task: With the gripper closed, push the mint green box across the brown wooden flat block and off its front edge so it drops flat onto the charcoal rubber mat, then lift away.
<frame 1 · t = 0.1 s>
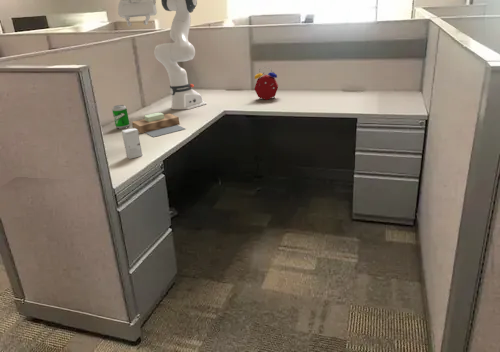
hand: (137, 25, 212), 52 cm above the table, tool tilted 20°, fingers open, 8 cm apart
soda can: (123, 127, 231), on the table
alarm clock: (267, 99, 266), on the table
skincare box: (134, 156, 185), on the table
mint green box: (154, 117, 226), point 5 cm above the table, touching brown wooden flat block
brown wooden flat block: (156, 126, 227), on the table
mat: (165, 131, 218), on the table
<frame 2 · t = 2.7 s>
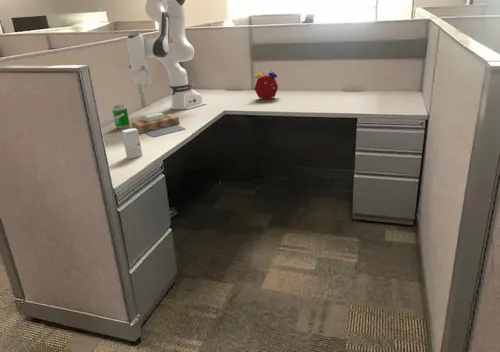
hand: (144, 91, 227), 18 cm above the table, tool pointing down, fingers closed
nothing on the table moved.
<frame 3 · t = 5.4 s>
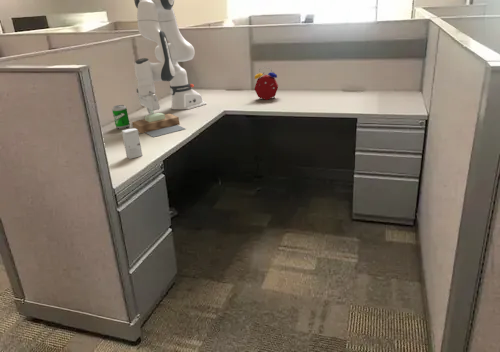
hand: (151, 115, 228), 5 cm above the table, tool pointing down, fingers closed
mint green box: (154, 117, 225), point 5 cm above the table, touching brown wooden flat block, gripper
everything else where it was.
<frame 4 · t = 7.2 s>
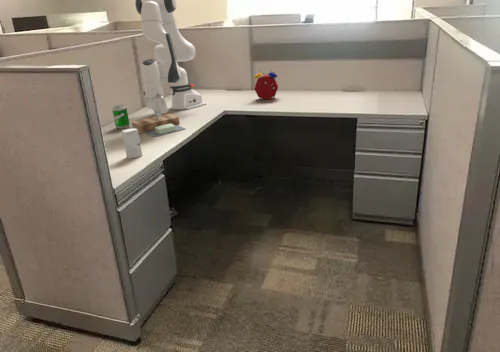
hand: (158, 118, 220), 5 cm above the table, tool pointing down, fingers closed
mint green box: (165, 128, 216), point 1 cm above the table, tilted 180°, touching mat
everything else where it was.
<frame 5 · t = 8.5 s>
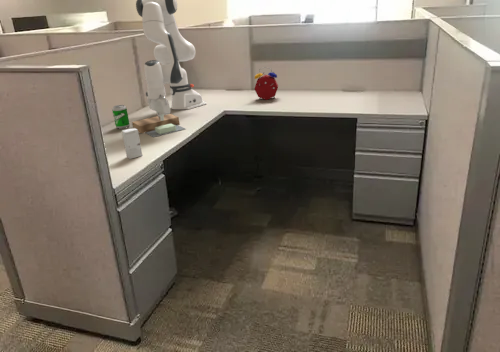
hand: (161, 120, 218), 5 cm above the table, tool pointing down, fingers closed
nothing on the table moved.
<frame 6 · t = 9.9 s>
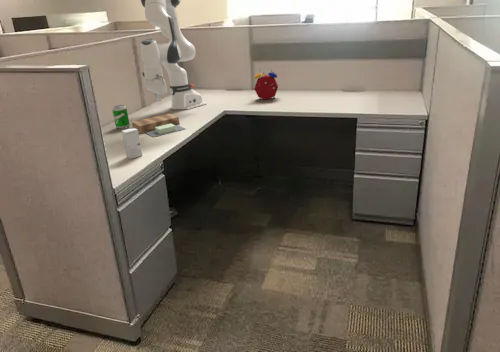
hand: (158, 100, 214), 15 cm above the table, tool pointing down, fingers closed
nothing on the table moved.
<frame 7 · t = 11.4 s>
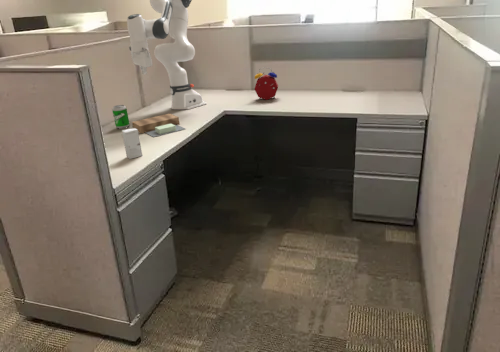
hand: (144, 74, 225), 27 cm above the table, tool pointing down, fingers closed
nothing on the table moved.
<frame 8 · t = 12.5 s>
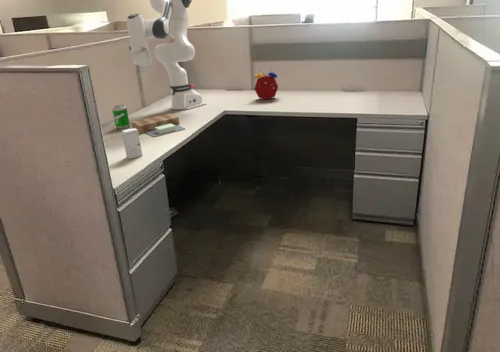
hand: (144, 73, 225), 27 cm above the table, tool pointing down, fingers closed
nothing on the table moved.
at the end: mint green box inside the target area on the mat (0.8 cm from its centre), point 1.5 cm above the mat's base; mint green box point 1.5 cm above the table; mint green box touching mat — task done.
